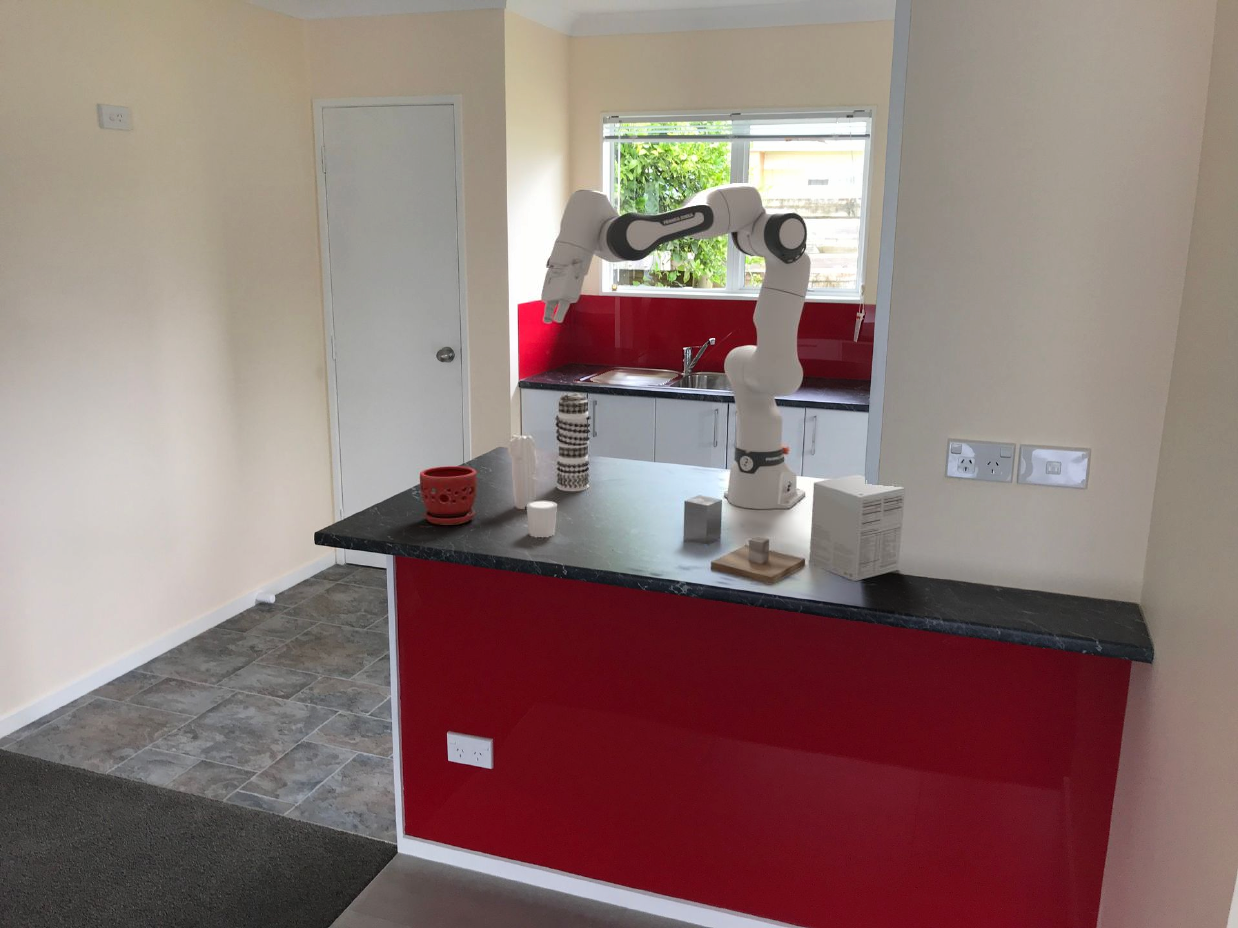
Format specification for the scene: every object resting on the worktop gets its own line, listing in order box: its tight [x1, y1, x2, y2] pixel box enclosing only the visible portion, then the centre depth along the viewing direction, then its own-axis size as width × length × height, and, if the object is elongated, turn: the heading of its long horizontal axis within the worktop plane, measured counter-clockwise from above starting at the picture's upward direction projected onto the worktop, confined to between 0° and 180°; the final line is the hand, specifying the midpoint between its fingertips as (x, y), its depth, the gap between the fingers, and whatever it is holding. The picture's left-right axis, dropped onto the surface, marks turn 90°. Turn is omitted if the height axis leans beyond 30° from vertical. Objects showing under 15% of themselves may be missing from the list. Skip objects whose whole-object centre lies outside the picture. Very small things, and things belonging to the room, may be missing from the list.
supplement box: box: [808, 474, 906, 582], centre depth 198 cm, size 13×13×18 cm
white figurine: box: [507, 434, 540, 510], centre depth 238 cm, size 7×18×7 cm
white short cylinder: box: [526, 500, 558, 539], centre depth 219 cm, size 7×7×7 cm
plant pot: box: [419, 465, 478, 526], centre depth 228 cm, size 13×13×12 cm
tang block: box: [710, 535, 806, 585], centre depth 199 cm, size 14×14×6 cm
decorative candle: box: [554, 392, 592, 492], centre depth 256 cm, size 9×9×25 cm
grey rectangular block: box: [682, 494, 723, 546], centre depth 216 cm, size 6×6×9 cm
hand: (551, 322), depth 213 cm, fingers open, 8 cm apart
